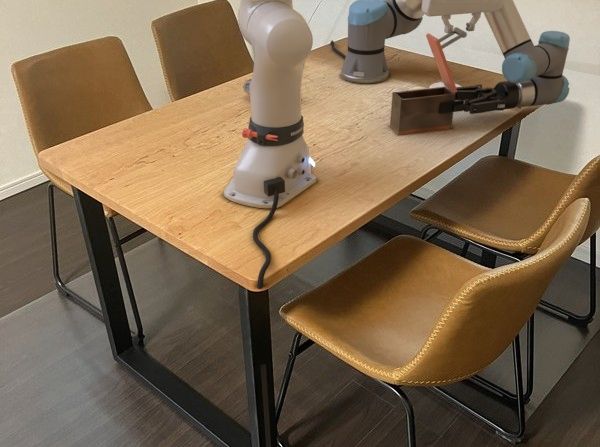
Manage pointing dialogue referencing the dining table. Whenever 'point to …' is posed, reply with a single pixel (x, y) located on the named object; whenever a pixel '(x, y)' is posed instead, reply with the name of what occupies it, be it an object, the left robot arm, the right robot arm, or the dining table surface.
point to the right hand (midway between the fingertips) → (434, 103)
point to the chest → (420, 110)
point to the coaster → (441, 84)
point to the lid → (440, 56)
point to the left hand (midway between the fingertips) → (459, 31)
